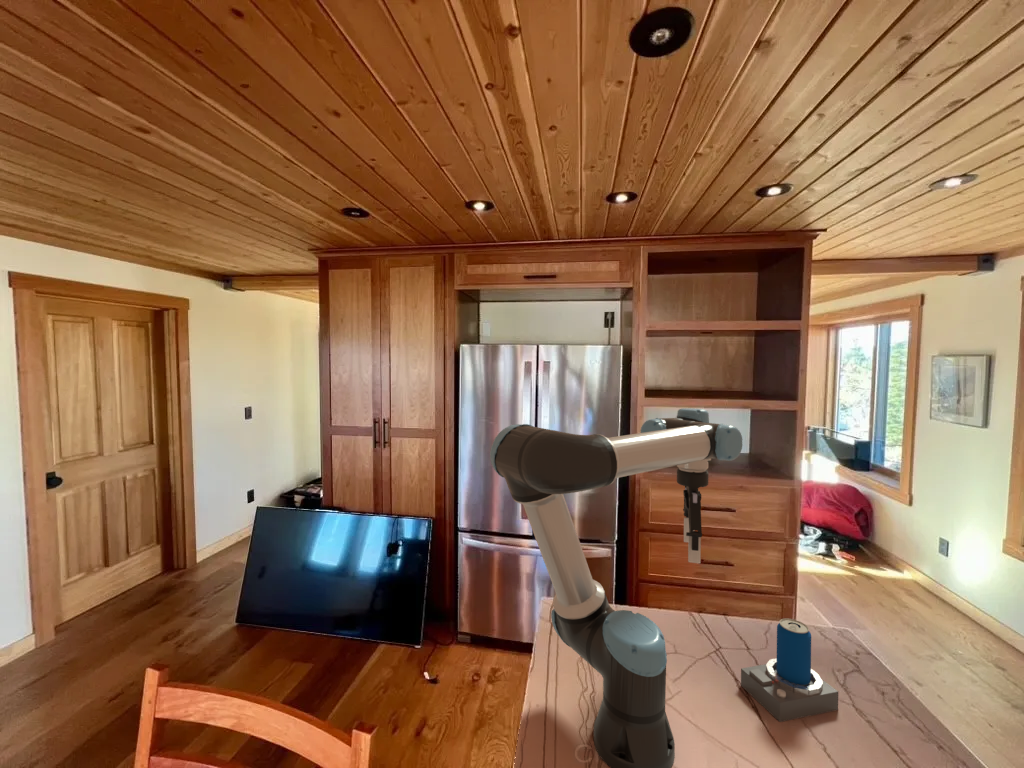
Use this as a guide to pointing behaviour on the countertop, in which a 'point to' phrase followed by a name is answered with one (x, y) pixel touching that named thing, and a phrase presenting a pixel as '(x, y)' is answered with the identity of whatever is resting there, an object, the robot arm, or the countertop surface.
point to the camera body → (786, 696)
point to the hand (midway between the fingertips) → (691, 551)
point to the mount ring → (794, 688)
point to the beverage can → (794, 652)
